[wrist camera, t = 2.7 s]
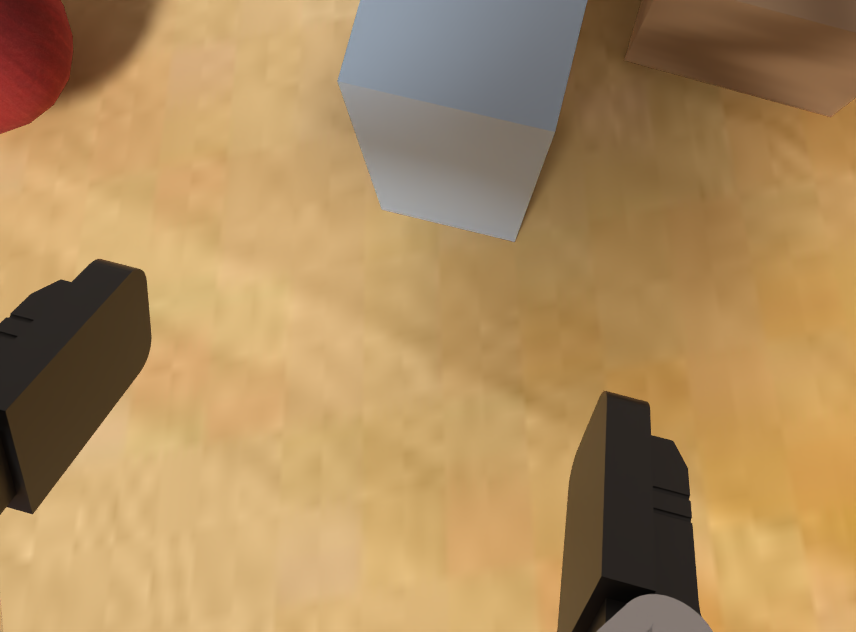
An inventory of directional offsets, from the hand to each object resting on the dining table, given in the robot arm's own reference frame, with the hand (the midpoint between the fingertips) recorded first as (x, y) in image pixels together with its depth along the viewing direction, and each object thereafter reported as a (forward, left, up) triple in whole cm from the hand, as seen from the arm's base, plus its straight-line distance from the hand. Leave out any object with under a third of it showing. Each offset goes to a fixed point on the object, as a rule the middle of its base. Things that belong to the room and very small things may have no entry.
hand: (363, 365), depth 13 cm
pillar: (0, +8, -12) cm, 14 cm away
